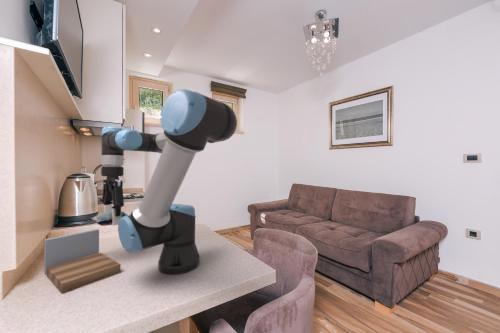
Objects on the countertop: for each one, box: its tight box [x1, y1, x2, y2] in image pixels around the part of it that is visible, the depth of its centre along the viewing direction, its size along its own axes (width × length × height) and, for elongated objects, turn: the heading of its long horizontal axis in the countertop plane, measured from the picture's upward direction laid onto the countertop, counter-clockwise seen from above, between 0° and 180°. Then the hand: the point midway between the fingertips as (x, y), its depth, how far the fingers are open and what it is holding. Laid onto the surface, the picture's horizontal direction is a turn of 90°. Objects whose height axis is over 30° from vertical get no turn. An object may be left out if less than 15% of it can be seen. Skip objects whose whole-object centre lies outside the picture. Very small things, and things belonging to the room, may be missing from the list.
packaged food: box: [90, 210, 129, 227], centre depth 84 cm, size 9×12×5 cm
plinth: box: [46, 252, 121, 295], centre depth 74 cm, size 18×16×3 cm
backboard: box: [43, 228, 100, 276], centre depth 81 cm, size 2×16×12 cm, turn 144°
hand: (112, 222), depth 84 cm, fingers closed on packaged food, 9 cm apart
